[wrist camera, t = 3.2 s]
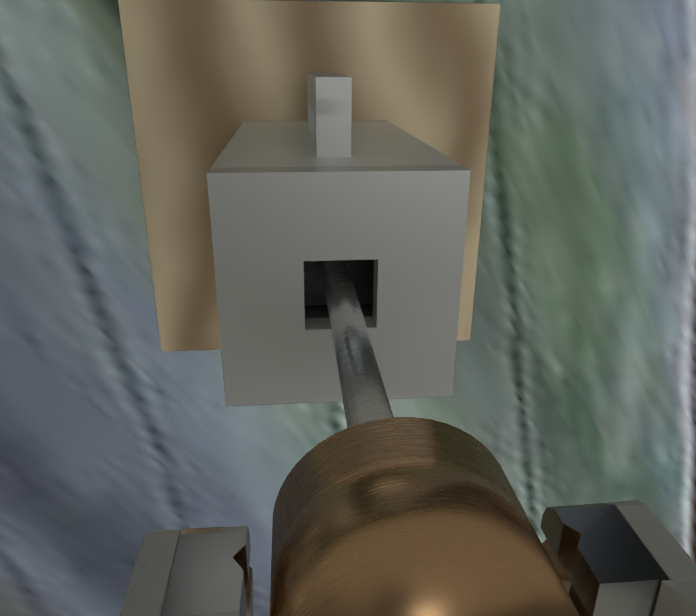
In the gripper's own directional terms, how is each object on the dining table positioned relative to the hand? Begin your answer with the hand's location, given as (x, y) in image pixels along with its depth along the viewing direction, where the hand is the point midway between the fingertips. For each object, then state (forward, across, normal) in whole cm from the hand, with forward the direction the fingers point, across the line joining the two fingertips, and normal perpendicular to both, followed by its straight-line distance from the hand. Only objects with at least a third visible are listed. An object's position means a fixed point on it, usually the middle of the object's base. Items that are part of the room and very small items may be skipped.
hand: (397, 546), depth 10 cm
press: (+28, 0, -1) cm, 28 cm away
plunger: (+18, 0, 0) cm, 18 cm away
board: (+30, 0, 0) cm, 30 cm away
